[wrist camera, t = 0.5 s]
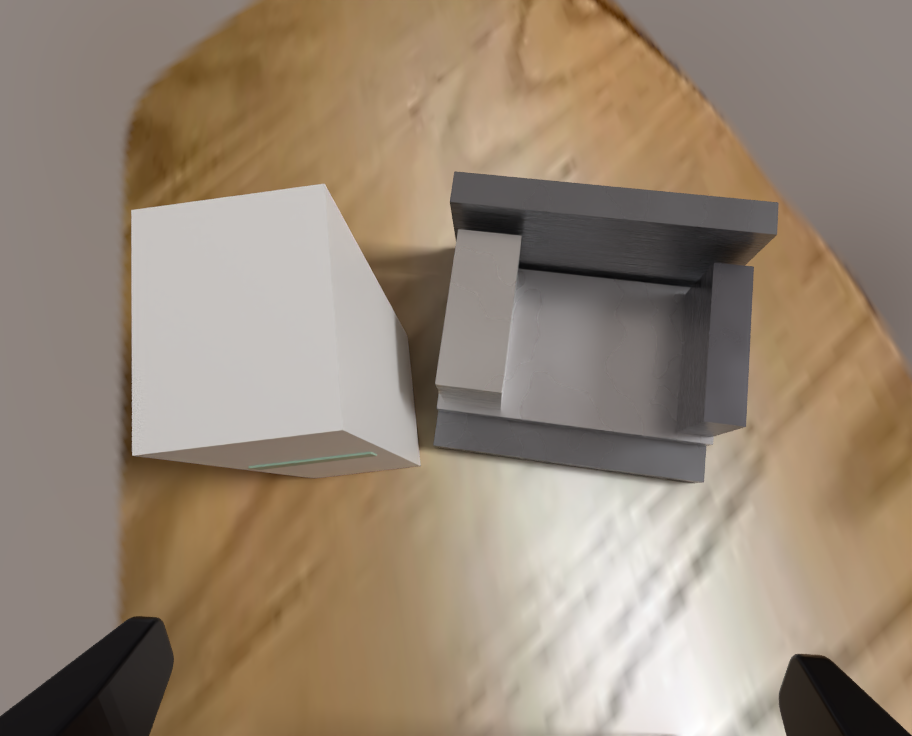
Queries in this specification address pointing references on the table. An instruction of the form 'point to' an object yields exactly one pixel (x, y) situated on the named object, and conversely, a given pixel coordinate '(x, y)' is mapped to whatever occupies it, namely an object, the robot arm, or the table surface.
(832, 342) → the table surface
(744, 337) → the gray open holder
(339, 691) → the table surface
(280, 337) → the block
